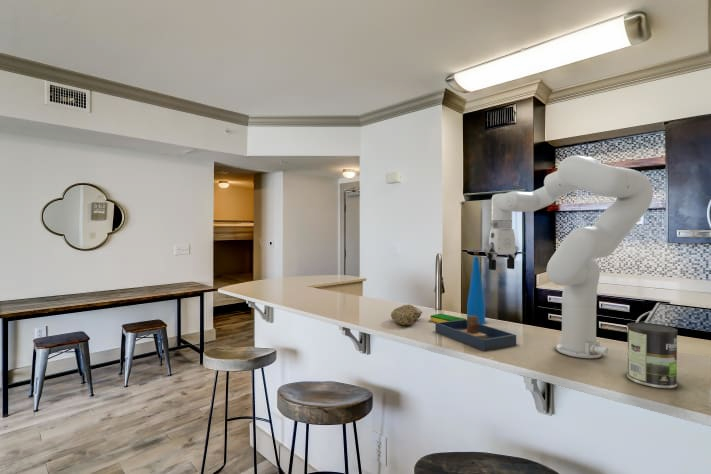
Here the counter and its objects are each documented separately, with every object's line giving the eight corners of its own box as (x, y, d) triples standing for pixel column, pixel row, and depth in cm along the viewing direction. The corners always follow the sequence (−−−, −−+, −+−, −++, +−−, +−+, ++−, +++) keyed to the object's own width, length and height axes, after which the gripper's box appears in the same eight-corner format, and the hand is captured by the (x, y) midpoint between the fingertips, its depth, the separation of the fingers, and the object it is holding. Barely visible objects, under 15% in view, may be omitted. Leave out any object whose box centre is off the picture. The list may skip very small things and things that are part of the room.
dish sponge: (456, 327, 153) (456, 321, 153) (429, 320, 164) (429, 315, 164) (466, 324, 158) (466, 318, 158) (440, 318, 168) (440, 313, 168)
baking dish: (516, 345, 129) (516, 334, 129) (484, 351, 122) (484, 340, 122) (464, 328, 152) (464, 319, 152) (435, 332, 145) (435, 322, 145)
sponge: (402, 319, 173) (378, 317, 157) (406, 302, 173) (383, 299, 157) (427, 328, 165) (405, 328, 149) (431, 311, 165) (410, 309, 149)
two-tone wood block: (487, 338, 134) (487, 318, 134) (476, 340, 132) (476, 319, 132) (469, 332, 142) (469, 313, 142) (459, 334, 140) (459, 314, 140)
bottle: (484, 324, 158) (485, 252, 157) (466, 323, 160) (467, 251, 160) (485, 320, 164) (485, 251, 164) (467, 319, 167) (468, 251, 167)
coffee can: (682, 382, 97) (683, 327, 96) (669, 392, 91) (670, 334, 90) (634, 370, 105) (635, 320, 105) (620, 378, 99) (620, 325, 99)
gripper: (492, 225, 139) (492, 271, 140) (525, 225, 147) (525, 269, 147) (477, 225, 146) (477, 269, 146) (510, 225, 154) (510, 267, 154)
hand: (501, 269), depth 147 cm, fingers open, 9 cm apart
